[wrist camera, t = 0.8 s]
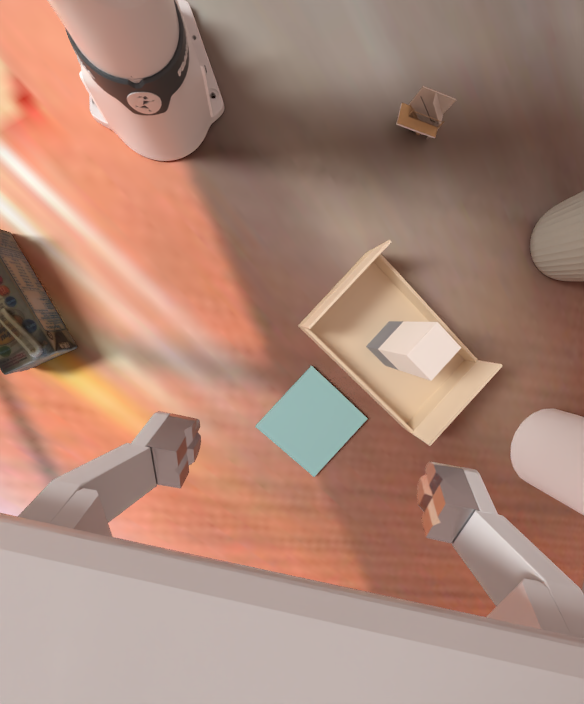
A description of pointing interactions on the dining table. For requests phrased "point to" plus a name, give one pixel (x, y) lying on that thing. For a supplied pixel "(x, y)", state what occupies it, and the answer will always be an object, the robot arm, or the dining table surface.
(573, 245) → the canister
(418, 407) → the beige open box
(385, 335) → the box
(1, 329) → the beverage carton
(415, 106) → the architectural model
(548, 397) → the dining table surface
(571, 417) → the canister
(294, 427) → the mat
